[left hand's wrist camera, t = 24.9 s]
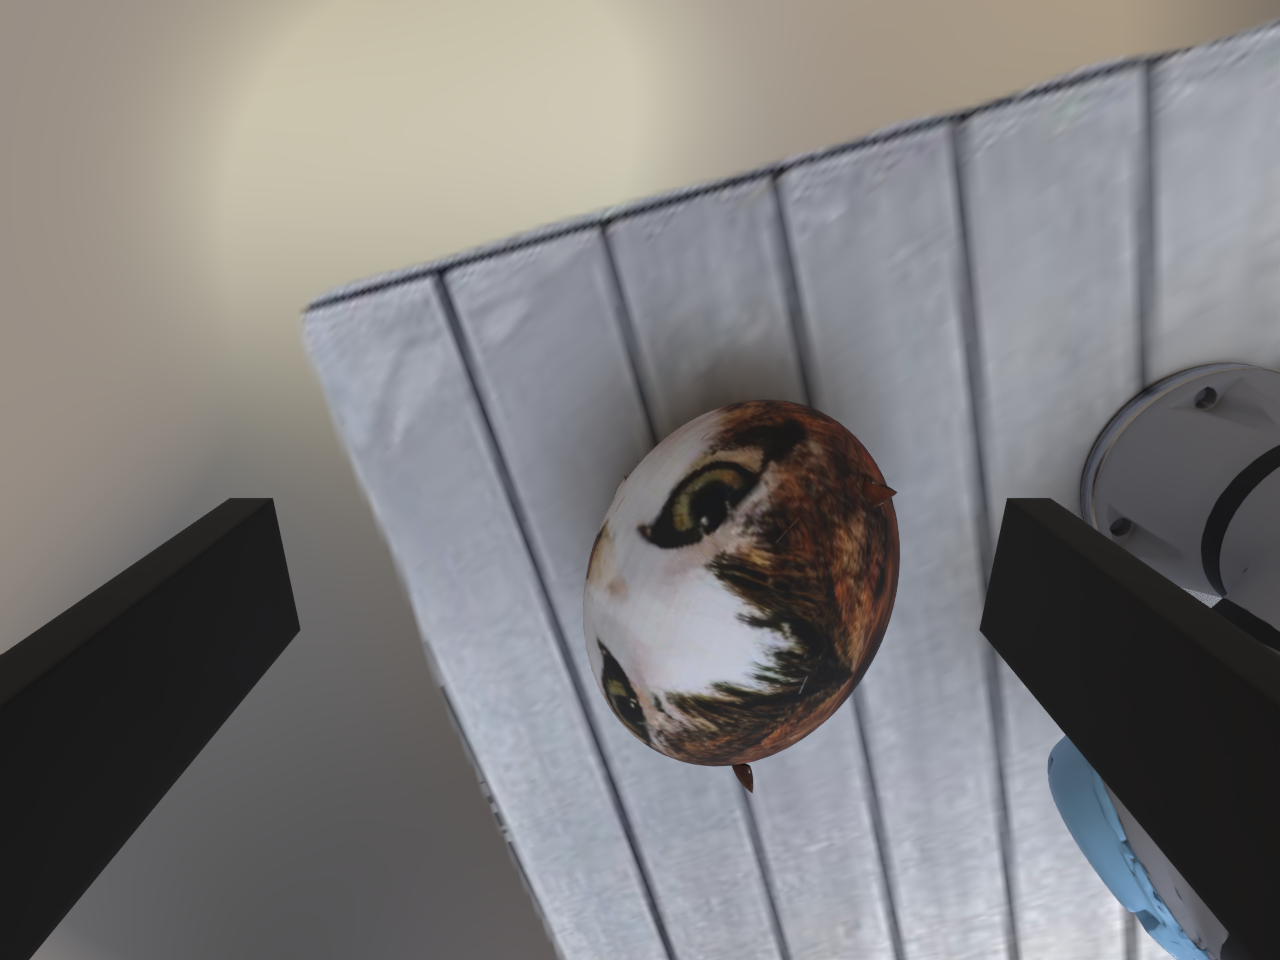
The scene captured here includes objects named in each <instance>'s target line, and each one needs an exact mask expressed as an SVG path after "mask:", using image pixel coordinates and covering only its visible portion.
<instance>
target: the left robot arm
mask: <svg viewBox="0 0 1280 960" xmlns="http://www.w3.org/2000/svg"><path fill="white" fill-rule="evenodd" d="M1081 508H1082V513H1083V518H1084V521H1085V522H1084V521H1083V520H1081V519H1080V518H1078V517H1077V516H1075V515H1074V514H1072V513H1071V512H1070V511H1068V510H1067V509H1065V508H1064V507H1062V506H1061V505H1059V504H1058V503H1056V502H1055V501H1053V500H1052V499H1051V498H1007V502H1006V506H1005V511H1004V516H1003V521H1002V525H1001V530H1000V535H999V540H998V544H997V549H996V554H995V559H994V563H993V568H992V573H991V578H990V583H989V587H988V592H987V597H986V602H985V606H984V611H983V616H982V621H981V625H980V631H981V632H982V633H983V635H984V636H985V637H986V638H987V640H988V641H989V642H990V643H991V644H992V646H993V647H994V648H995V649H996V651H997V652H998V653H999V654H1000V655H1001V657H1002V658H1003V659H1004V660H1005V661H1006V663H1007V664H1008V665H1009V666H1010V668H1011V669H1012V670H1013V671H1014V672H1015V674H1016V675H1017V676H1018V677H1019V678H1020V680H1021V681H1022V682H1023V683H1024V685H1025V686H1026V687H1027V688H1028V689H1029V691H1030V692H1031V693H1032V694H1033V695H1034V697H1035V698H1036V699H1037V700H1038V702H1039V703H1040V704H1041V705H1042V706H1043V708H1044V709H1045V710H1046V711H1047V713H1048V714H1049V715H1050V716H1051V717H1052V719H1053V720H1054V721H1055V722H1056V723H1057V725H1058V726H1059V727H1060V728H1061V730H1062V731H1063V732H1064V733H1065V734H1066V735H1065V736H1064V737H1063V738H1062V739H1061V740H1060V741H1059V742H1058V743H1057V744H1056V745H1055V746H1054V748H1053V749H1052V751H1051V753H1050V756H1049V759H1048V775H1049V776H1048V781H1049V786H1050V790H1051V793H1052V796H1053V799H1054V801H1055V804H1056V806H1057V808H1058V810H1059V812H1060V815H1061V817H1062V818H1063V820H1064V822H1065V824H1066V826H1067V828H1068V830H1069V831H1070V833H1071V835H1072V836H1073V838H1074V840H1075V841H1076V843H1077V845H1078V846H1079V848H1080V849H1081V851H1082V852H1083V854H1084V855H1085V857H1086V858H1087V860H1088V861H1089V863H1090V864H1091V866H1092V867H1093V868H1094V870H1095V871H1096V872H1097V874H1098V875H1099V877H1100V878H1101V879H1102V881H1103V882H1104V883H1105V885H1106V886H1107V887H1108V889H1109V890H1110V891H1111V892H1112V894H1113V895H1114V896H1115V897H1116V899H1117V900H1118V901H1119V902H1120V903H1121V904H1122V905H1123V906H1124V907H1125V909H1126V910H1127V911H1131V912H1134V913H1135V915H1136V917H1137V918H1138V920H1139V921H1140V923H1141V924H1142V926H1143V927H1144V929H1145V930H1146V932H1147V933H1148V934H1149V935H1150V936H1151V937H1152V938H1153V939H1154V940H1155V941H1156V942H1157V943H1158V944H1159V945H1160V946H1161V947H1162V948H1164V949H1165V950H1166V951H1167V952H1168V953H1169V954H1171V955H1172V956H1173V957H1174V958H1176V959H1177V960H1280V373H1278V372H1275V371H1271V370H1267V369H1263V368H1259V367H1255V366H1250V365H1245V364H1234V363H1229V364H1213V365H1206V366H1201V367H1197V368H1193V369H1190V370H1186V371H1184V372H1181V373H1178V374H1176V375H1173V376H1171V377H1169V378H1167V379H1165V380H1163V381H1161V382H1159V383H1157V384H1155V385H1154V386H1152V387H1150V388H1149V389H1147V390H1146V391H1144V392H1143V393H1141V394H1140V395H1139V396H1137V397H1136V398H1135V399H1134V400H1132V401H1131V402H1130V403H1129V404H1128V405H1127V406H1126V407H1125V408H1123V409H1122V410H1121V411H1120V412H1119V413H1118V415H1117V416H1116V417H1115V418H1114V419H1113V420H1112V421H1111V422H1110V424H1109V425H1108V426H1107V427H1106V429H1105V430H1104V432H1103V433H1102V435H1101V436H1100V438H1099V439H1098V441H1097V443H1096V444H1095V446H1094V448H1093V450H1092V452H1091V454H1090V457H1089V459H1088V461H1087V464H1086V467H1085V470H1084V475H1083V479H1082V486H1081ZM1180 587H1183V588H1186V589H1190V590H1194V591H1198V592H1202V593H1206V594H1209V595H1213V596H1217V597H1221V598H1222V599H1221V600H1220V601H1219V602H1218V603H1217V604H1215V605H1214V606H1213V607H1212V608H1210V607H1208V606H1207V605H1205V604H1204V603H1202V602H1201V601H1199V600H1198V599H1196V598H1195V597H1194V596H1192V595H1191V594H1189V593H1188V592H1186V591H1185V590H1183V589H1182V588H1180ZM299 631H300V625H299V621H298V616H297V611H296V606H295V602H294V597H293V592H292V587H291V583H290V578H289V573H288V568H287V564H286V559H285V554H284V549H283V544H282V540H281V535H280V530H279V525H278V521H277V516H276V511H275V506H274V502H273V498H229V499H228V500H227V501H225V502H224V503H222V504H221V505H219V506H218V507H216V508H215V509H213V510H212V511H210V512H209V513H208V514H206V515H205V516H203V517H202V518H200V519H199V520H197V521H196V522H194V523H193V524H192V525H190V526H189V527H187V528H186V529H184V530H183V531H181V532H180V533H178V534H177V535H176V536H174V537H173V538H171V539H170V540H168V541H167V542H165V543H164V544H162V545H161V546H159V547H158V548H157V549H155V550H154V551H152V552H151V553H149V554H148V555H146V556H145V557H143V558H142V559H140V560H139V561H138V562H136V563H135V564H133V565H132V566H130V567H129V568H127V569H126V570H124V571H123V572H122V573H120V574H119V575H117V576H116V577H114V578H113V579H111V580H110V581H108V582H107V583H106V584H104V585H103V586H101V587H100V588H98V589H97V590H95V591H94V592H92V593H91V594H90V595H88V596H87V597H85V598H84V599H82V600H81V601H79V602H78V603H76V604H75V605H73V606H72V607H71V608H69V609H68V610H66V611H65V612H63V613H62V614H60V615H59V616H57V617H56V618H54V619H53V620H52V621H50V622H49V623H47V624H46V625H44V626H43V627H41V628H40V629H38V630H37V631H35V632H34V633H33V634H31V635H30V636H28V637H27V638H25V639H24V640H22V641H21V642H19V643H18V644H16V645H15V646H14V647H12V648H11V649H9V650H8V651H6V652H5V653H3V654H1V655H0V960H29V959H30V958H31V957H32V956H33V954H34V953H35V952H36V951H37V950H38V948H39V947H40V946H41V945H42V944H43V942H44V941H45V940H46V939H47V937H48V936H49V935H50V934H51V932H52V931H53V930H54V929H55V928H56V926H57V925H58V924H59V923H60V922H61V920H62V919H63V918H64V917H65V916H66V914H67V913H68V912H69V911H70V909H71V908H72V907H73V906H74V905H75V903H76V902H77V901H78V900H79V899H80V897H81V896H82V895H83V894H84V892H85V891H86V890H87V889H88V888H89V886H90V885H91V884H92V883H93V881H94V880H95V879H96V878H97V877H98V875H99V874H100V873H101V872H102V871H103V869H104V868H105V867H106V866H107V864H108V863H109V862H110V861H111V860H112V858H113V857H114V856H115V855H116V854H117V852H118V851H119V850H120V849H121V847H122V846H123V845H124V844H125V843H126V841H127V840H128V839H129V838H130V837H131V835H132V834H133V833H134V832H135V830H136V829H137V828H138V827H139V826H140V824H141V823H142V822H143V821H144V819H145V818H146V817H147V816H148V815H149V813H150V812H151V811H152V810H153V808H154V807H155V806H156V805H157V804H158V802H159V801H160V800H161V799H162V798H163V796H164V795H165V794H166V793H167V791H168V790H169V789H170V788H171V787H172V785H173V784H174V783H175V782H176V781H177V779H178V778H179V777H180V776H181V774H182V773H183V772H184V771H185V770H186V768H187V767H188V766H189V765H190V764H191V762H192V761H193V760H194V759H195V757H196V756H197V755H198V754H199V753H200V751H201V750H202V749H203V748H204V747H205V745H206V744H207V743H208V742H209V740H210V739H211V738H212V737H213V736H214V734H215V733H216V732H217V731H218V730H219V728H220V727H221V726H222V725H223V723H224V722H225V721H226V720H227V719H228V717H229V716H230V715H231V714H232V713H233V711H234V710H235V709H236V708H237V706H238V705H239V704H240V703H241V702H242V700H243V699H244V698H245V697H246V695H247V694H248V693H249V692H250V691H251V689H252V688H253V687H254V686H255V684H256V683H257V682H258V681H259V680H260V678H261V677H262V676H263V675H264V674H265V672H266V671H267V670H268V669H269V668H270V666H271V665H272V664H273V663H274V661H275V660H276V659H277V658H278V657H279V655H280V654H281V653H282V652H283V651H284V649H285V648H286V647H287V646H288V644H289V643H290V642H291V641H292V640H293V638H294V637H295V636H296V635H297V633H298V632H299Z"/></svg>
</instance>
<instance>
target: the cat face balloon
mask: <svg viewBox="0 0 1280 960" xmlns="http://www.w3.org/2000/svg"><path fill="white" fill-rule="evenodd" d="M896 493H897V492H896V491H895V490H893V489H891V488H890V487H888V486H887V485H886V482H885V480H884V477H883V475H882V473H881V471H880V470H879V468H878V466H877V464H876V462H875V461H874V459H873V458H872V457H871V455H870V454H869V452H868V451H867V450H866V448H865V447H864V445H863V444H862V443H861V442H860V441H859V440H858V439H857V438H856V437H855V436H854V435H853V434H852V433H851V432H850V431H849V430H847V429H846V428H845V427H844V426H842V425H841V424H840V423H839V422H837V421H836V420H834V419H832V418H830V417H829V416H827V415H825V414H823V413H822V412H820V411H817V410H815V409H812V408H810V407H807V406H804V405H800V404H796V403H792V402H787V401H777V400H754V401H745V402H739V403H735V404H731V405H727V406H723V407H720V408H718V409H715V410H713V411H710V412H708V413H705V414H703V415H700V416H699V417H697V418H695V419H693V420H691V421H690V422H688V423H686V424H685V425H683V426H681V427H680V428H678V429H677V430H675V431H674V432H672V433H671V434H670V435H669V436H667V437H666V438H665V439H664V440H662V441H661V442H660V443H659V444H658V445H657V446H656V447H655V448H654V449H653V450H652V451H651V452H650V453H648V454H647V455H646V456H645V457H644V458H643V460H642V461H641V462H640V463H639V464H638V465H637V467H636V468H635V469H634V470H633V471H632V473H631V474H630V475H629V477H628V478H627V479H626V481H625V477H624V479H623V481H622V482H621V484H620V486H619V487H618V489H617V492H616V494H615V497H614V500H613V502H612V503H611V505H610V507H609V508H608V511H607V513H606V515H605V517H604V519H603V522H602V524H601V526H600V528H599V531H598V534H597V537H596V539H595V542H594V545H593V549H592V552H591V556H590V560H589V564H588V568H587V575H586V581H585V588H584V599H583V625H584V635H585V642H586V649H587V653H588V657H589V661H590V665H591V668H592V671H593V674H594V677H595V679H596V682H597V684H598V686H599V689H600V691H601V693H602V695H603V696H604V698H605V700H606V702H607V703H608V705H609V707H610V708H611V710H612V711H613V713H614V714H615V715H616V717H617V718H618V719H619V721H620V722H621V723H622V724H623V725H624V726H625V727H626V728H627V729H628V730H629V731H630V732H631V733H632V734H633V735H634V736H635V737H637V738H638V739H639V740H641V741H642V742H643V743H645V744H646V745H647V746H649V747H650V748H652V749H654V750H656V751H657V752H659V753H661V754H663V755H666V756H668V757H671V758H674V759H676V760H679V761H682V762H686V763H690V764H695V765H704V766H730V765H732V767H733V770H734V772H735V774H736V776H737V778H738V779H739V780H740V782H741V783H742V784H743V785H744V786H745V787H746V788H747V789H748V790H749V791H750V792H751V793H753V775H752V770H751V767H750V766H749V765H747V764H745V763H748V762H753V761H756V760H759V759H763V758H765V757H768V756H771V755H773V754H776V753H778V752H780V751H782V750H784V749H786V748H789V747H790V746H792V745H793V744H795V743H797V742H798V741H800V740H802V739H803V738H805V737H806V736H808V735H809V734H810V733H812V732H813V731H814V730H816V729H817V728H818V727H819V726H820V725H822V724H823V723H824V722H825V721H826V720H828V719H829V718H830V717H831V716H832V715H833V714H834V713H835V712H836V711H837V710H838V708H839V707H840V706H841V705H842V704H843V703H844V702H845V701H846V699H847V698H848V697H849V696H850V694H851V693H852V692H853V690H854V689H855V688H856V686H857V685H858V684H859V682H860V681H861V680H862V678H863V676H864V675H865V673H866V671H867V669H868V668H869V666H870V664H871V663H872V661H873V659H874V657H875V655H876V653H877V651H878V649H879V647H880V645H881V642H882V640H883V637H884V635H885V632H886V629H887V626H888V623H889V620H890V617H891V614H892V610H893V606H894V602H895V597H896V592H897V585H898V577H899V563H900V543H899V532H898V524H897V518H896V513H895V509H894V505H893V501H892V497H893V496H894V495H895V494H896Z"/></svg>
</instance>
